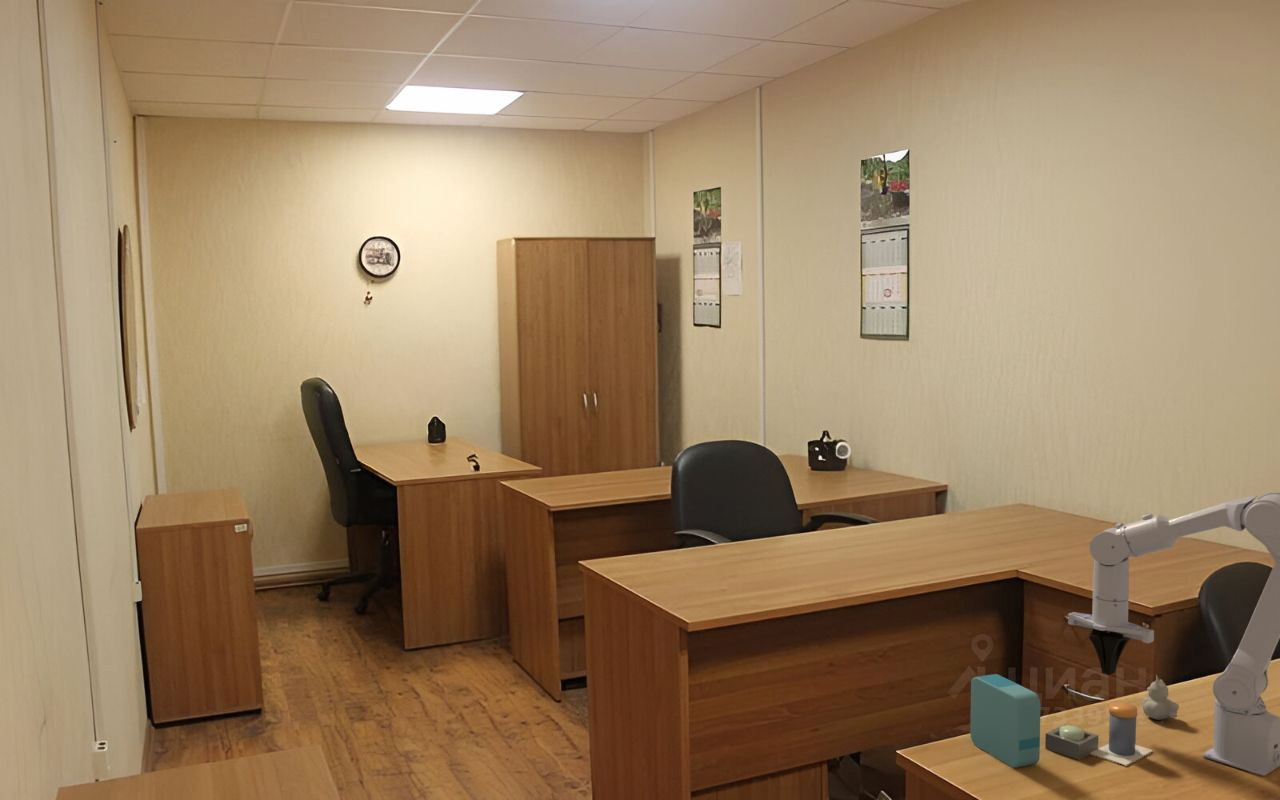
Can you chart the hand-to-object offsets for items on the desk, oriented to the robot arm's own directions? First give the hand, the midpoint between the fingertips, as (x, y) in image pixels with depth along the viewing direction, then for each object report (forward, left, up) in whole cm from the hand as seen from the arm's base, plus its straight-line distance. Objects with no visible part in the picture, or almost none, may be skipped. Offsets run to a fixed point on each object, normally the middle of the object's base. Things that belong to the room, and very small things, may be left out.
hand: (1108, 672), depth 180 cm
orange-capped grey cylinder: (-7, +8, -10) cm, 14 cm away
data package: (+5, +24, -10) cm, 27 cm away
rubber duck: (-4, -11, -10) cm, 16 cm away
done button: (-1, +13, -10) cm, 17 cm away
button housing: (-1, +14, -10) cm, 17 cm away
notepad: (-7, +9, -10) cm, 15 cm away
